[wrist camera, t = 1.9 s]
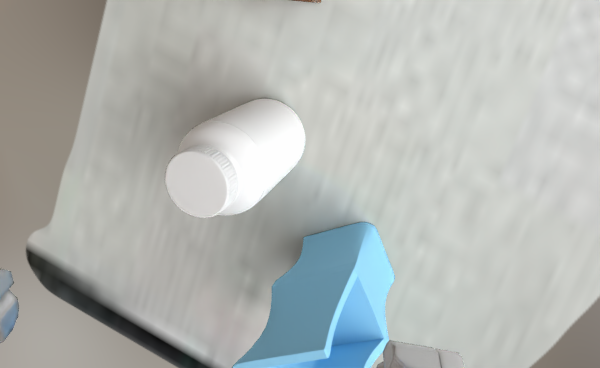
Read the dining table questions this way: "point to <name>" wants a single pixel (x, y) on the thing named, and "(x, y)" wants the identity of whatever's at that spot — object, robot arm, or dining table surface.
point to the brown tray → (316, 0)
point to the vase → (328, 304)
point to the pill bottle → (235, 158)
